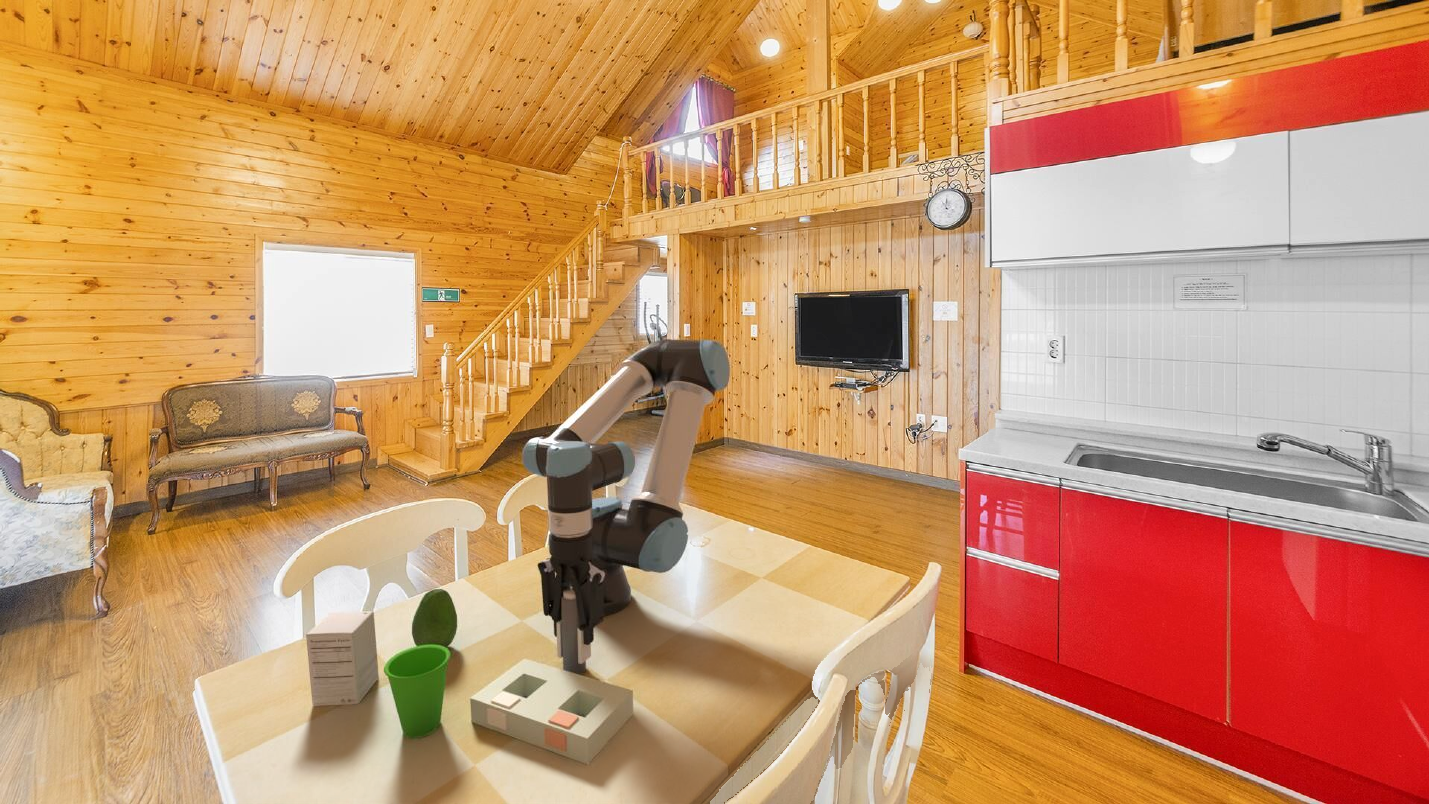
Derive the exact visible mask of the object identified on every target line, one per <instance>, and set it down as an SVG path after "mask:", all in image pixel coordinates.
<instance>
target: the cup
mask: <svg viewBox="0 0 1429 804" xmlns="http://www.w3.org/2000/svg"><path fill="white" fill-rule="evenodd" d="M451 657H452V656H451V652H450V650H449V649H448V647H447V648H446V647H444V646H440V645H422V646H416V645H415V646H413V647H410V648H407V649H405V650H402V651H400V652H398V653H396V654H395V655H393V656H391V657H390V658H389V659H388V661H387V662H386V663H385V665H384V667H383V672H384V674H385V676H387V679H388V681H389V687H390V690H391V693H392V697H393V701H394V705H395V709H396V711H397V716H398V719H399V723H400V726H401V730H402V732H403V734H404V736H406V737H407V738H411V739H417V738H423V737H425V736H428V735H430V734H432V733H434V731H436V730H437V729H438V727H439V725H440V723H441V720H442V714H443V713H442V712H443V704H444V695H445V689H446V688H445V687H446V680H447V670H448V664H449V663H448V662H449V661H450V659H451Z"/></svg>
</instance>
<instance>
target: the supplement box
mask: <svg viewBox="0 0 1429 804" xmlns="http://www.w3.org/2000/svg"><path fill="white" fill-rule="evenodd" d="M374 613H375V612H374V611H371V610H370V611H346V612H345V611H344V612H342V611H341V612H331V613H329V614H327V616H325V617H324V618H323V619H322V620H321V621H320V622H319V623H318V624H316V625H315V626H313V628H311V629H310V630H309V631H308V632H307V633H306V634H305V636H306V637H305V638H306V649H307V650H306V651H307V658H308V670H309V672H308V673H309V680H310V681H309V682H310V692H311V702H312V707H313V706H314V707H321V706H324V707H325V706H343V705H357V704H360V703H361V701H362V700H363V698H365V696H366V695H367V694H368V692H369V691H370V689H372V687H373V686H374V684H375V683H376V682H377V681H378V680H379V679H380V676H379V662H378V649H377V638H376V637H377V636H376V627H375V626H376V625H375V624H376V623H375V614H374Z"/></svg>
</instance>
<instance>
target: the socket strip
mask: <svg viewBox="0 0 1429 804" xmlns="http://www.w3.org/2000/svg"><path fill="white" fill-rule="evenodd" d="M469 700H470V716H471V718H470V719H471V723H474V724H476V725H479V726H482V727H485V728H487V729H490V730H493V731H495V732H499V733H500V734H504V735H506V736H509V737H512V738H514V739H517V740H519V741H523V742H525V743H529V744H530V745H533V746H536V747H539V748H541V749H543V750H547V751H550V752H553V753H556V754H558V755H562V756H564V757H567V758H569V759H572V760H575V761H577V762H580V763H582V764H585V765H589V764H590V763H591V762H592V761H593V760H594V759H595V757H596V756H597V755H598V754H599V753H600V752H601V751H602V749H604V747H606V745H607V744H608V743H609V742H610V740H611V739H612V738H613V737H614V735H616V734H617V733H618V731H620V729H621V728H622V727H623V726H624V725H625V724H626V722H627V721H628V720H629V719H630V718H631V717H632V716H633V715H634V690H632V689H628V688H625V687H622V686H619V685H615V684H612V683H609V682H605V681H602V680H598V679H595V678H591V677H588V676H584V675H583V674H581V675H579V674H575V673H572V672H568V671H565V670H563V668H558V667H554V666H550V665H548V664H545V663H540V662H539V661H535V660H531V659H527V658H523V659H522V660H520V661H519V662H517V663H516V664H514V665H513V666H512V667H511V668H509V669H508V670H507V671H506V672H504V673H503V674H501V675H500V676H498V677H497V678H496V679H494V680H493V681H492V682H489V683H488V684H487V685H486V686H485V687H483V688H482V689H481V690H479V691H478V692H476V693H475V694H474V695H472V696H471V697H470V698H469ZM581 715H582V716H581ZM584 716H585V717H584Z"/></svg>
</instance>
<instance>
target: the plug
mask: <svg viewBox="0 0 1429 804" xmlns="http://www.w3.org/2000/svg"><path fill="white" fill-rule="evenodd" d="M561 610H562V647H563V657H562V670H565V671H568V672H572V673H575V674H579V675H583V674H585V672H586V670H587V662H586V661H587V660H586V661H585V662H584V663H582V664H580V663H578V633H577V628H578V627H580V626H581V622H580V616H579V611H578V606H577V600H576V595H575V591H573V590H572V587H569V588H567V589H565V590H564V591H563V596H561Z"/></svg>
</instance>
